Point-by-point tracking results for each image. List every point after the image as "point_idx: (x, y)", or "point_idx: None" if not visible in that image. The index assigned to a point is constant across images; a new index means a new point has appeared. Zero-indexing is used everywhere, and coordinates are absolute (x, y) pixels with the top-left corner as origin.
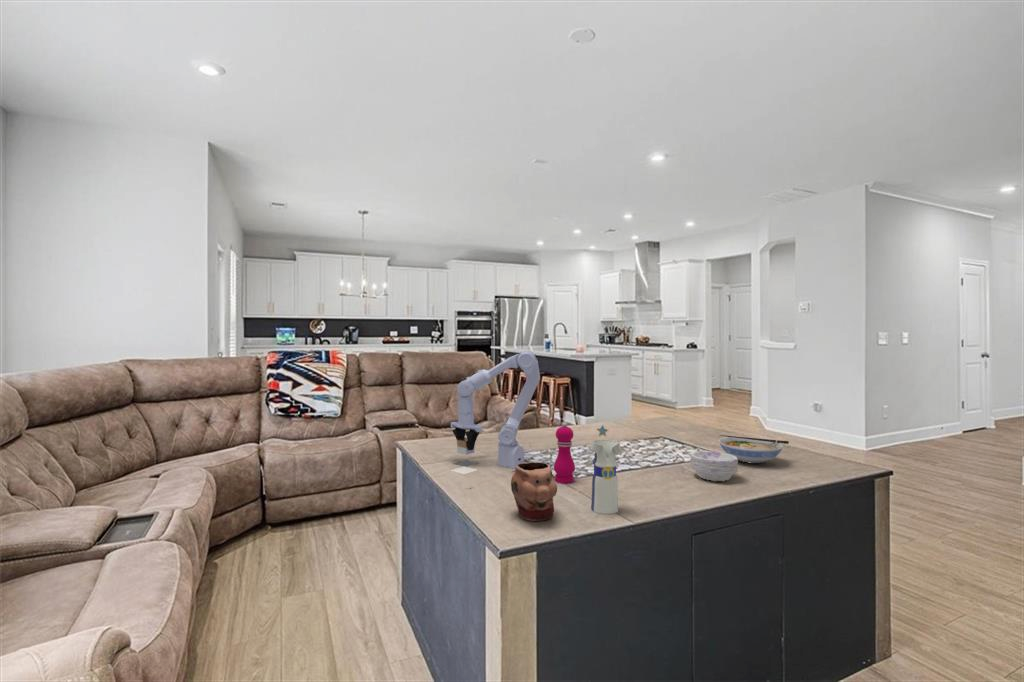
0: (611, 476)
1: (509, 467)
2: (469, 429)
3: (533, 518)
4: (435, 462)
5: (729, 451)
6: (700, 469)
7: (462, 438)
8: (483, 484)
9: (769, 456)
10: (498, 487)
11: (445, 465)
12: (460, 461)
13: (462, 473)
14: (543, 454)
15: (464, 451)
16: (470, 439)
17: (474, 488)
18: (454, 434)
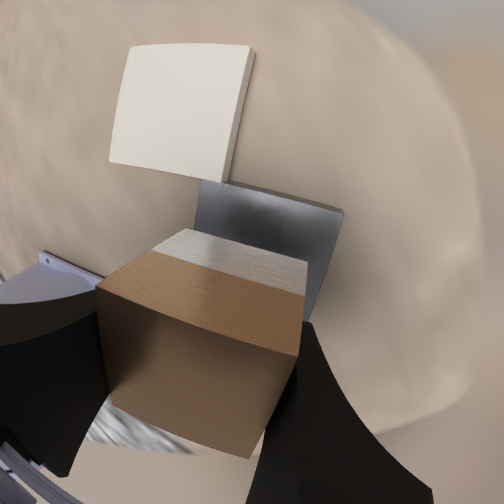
0: None
1: (48, 271)
2: (17, 465)
3: None
4: (480, 257)
5: None
6: None
7: (256, 426)
8: (50, 55)
9: None
10: (16, 74)
11: (403, 220)
12: (316, 286)
13: (144, 50)
14: (126, 444)
15: (190, 242)
16: (34, 307)
17: (62, 7)
18: (383, 452)
